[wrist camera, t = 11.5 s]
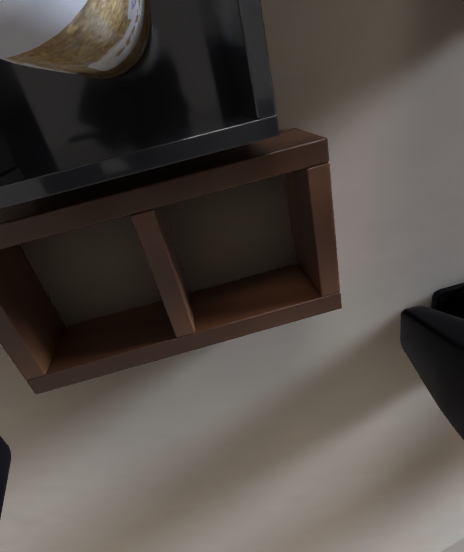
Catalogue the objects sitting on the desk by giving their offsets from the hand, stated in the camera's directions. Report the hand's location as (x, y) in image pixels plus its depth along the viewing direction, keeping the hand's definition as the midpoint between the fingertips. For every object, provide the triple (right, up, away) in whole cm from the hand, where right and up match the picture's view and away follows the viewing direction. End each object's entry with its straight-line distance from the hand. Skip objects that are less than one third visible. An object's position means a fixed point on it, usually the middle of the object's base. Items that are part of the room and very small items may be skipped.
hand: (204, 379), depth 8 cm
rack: (-3, +4, +12) cm, 13 cm away
